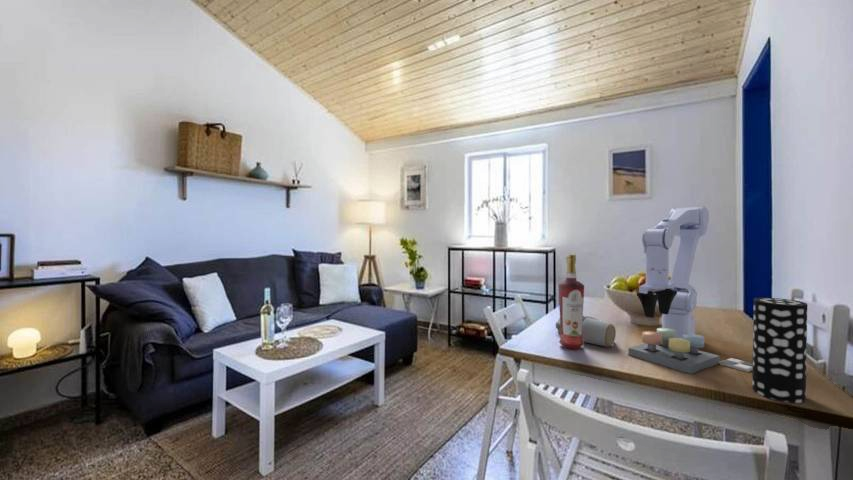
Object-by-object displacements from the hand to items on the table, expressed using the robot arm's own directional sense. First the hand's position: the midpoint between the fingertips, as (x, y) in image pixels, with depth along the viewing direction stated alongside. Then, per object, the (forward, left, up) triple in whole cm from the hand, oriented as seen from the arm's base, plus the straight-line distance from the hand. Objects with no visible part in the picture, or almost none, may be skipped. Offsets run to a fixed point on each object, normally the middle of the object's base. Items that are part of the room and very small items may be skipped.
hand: (656, 315), depth 110 cm
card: (-4, +18, -10) cm, 21 cm away
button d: (+8, +11, -8) cm, 16 cm away
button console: (+5, +7, -10) cm, 13 cm away
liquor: (+20, -14, -10) cm, 26 cm away
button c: (+8, +4, -8) cm, 12 cm away
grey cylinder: (+9, -12, -10) cm, 18 cm away
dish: (+6, -23, -10) cm, 26 cm away
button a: (+1, +3, -8) cm, 9 cm away
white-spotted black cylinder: (+8, +30, -10) cm, 33 cm away
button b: (+1, +10, -8) cm, 13 cm away
